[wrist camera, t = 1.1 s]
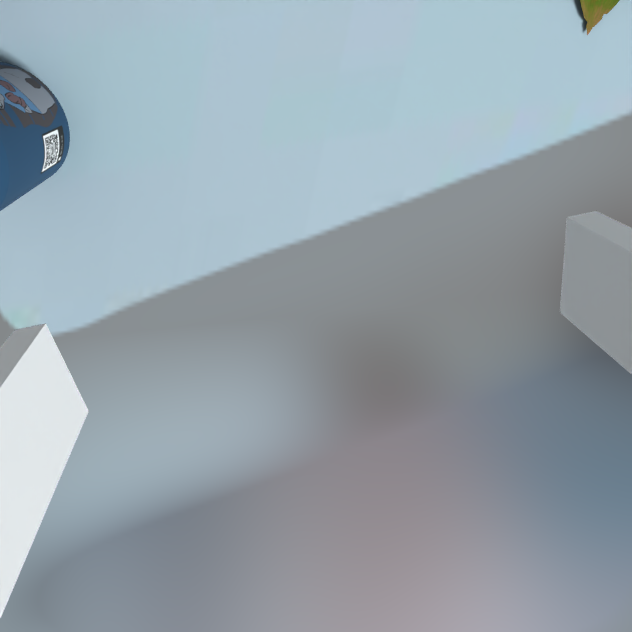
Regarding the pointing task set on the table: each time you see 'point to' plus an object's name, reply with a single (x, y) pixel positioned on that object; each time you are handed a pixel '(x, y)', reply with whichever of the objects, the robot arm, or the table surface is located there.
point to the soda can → (28, 133)
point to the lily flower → (595, 10)
